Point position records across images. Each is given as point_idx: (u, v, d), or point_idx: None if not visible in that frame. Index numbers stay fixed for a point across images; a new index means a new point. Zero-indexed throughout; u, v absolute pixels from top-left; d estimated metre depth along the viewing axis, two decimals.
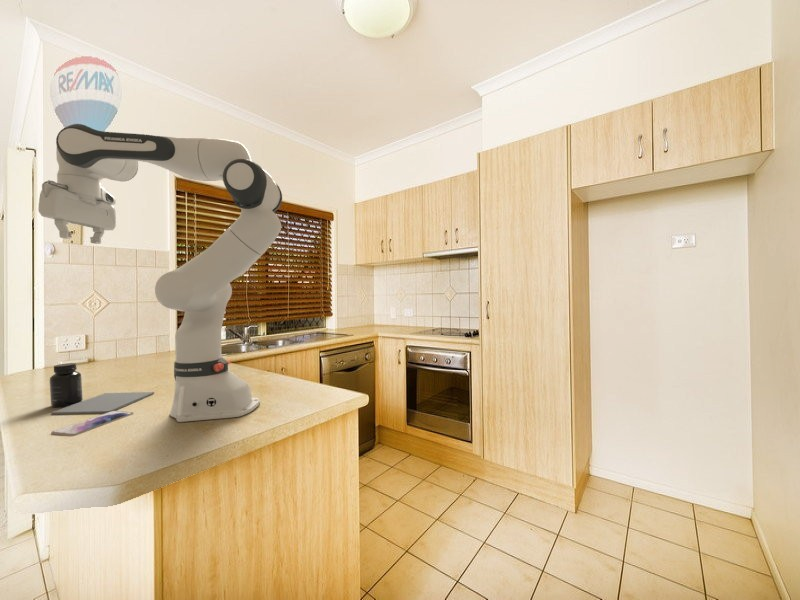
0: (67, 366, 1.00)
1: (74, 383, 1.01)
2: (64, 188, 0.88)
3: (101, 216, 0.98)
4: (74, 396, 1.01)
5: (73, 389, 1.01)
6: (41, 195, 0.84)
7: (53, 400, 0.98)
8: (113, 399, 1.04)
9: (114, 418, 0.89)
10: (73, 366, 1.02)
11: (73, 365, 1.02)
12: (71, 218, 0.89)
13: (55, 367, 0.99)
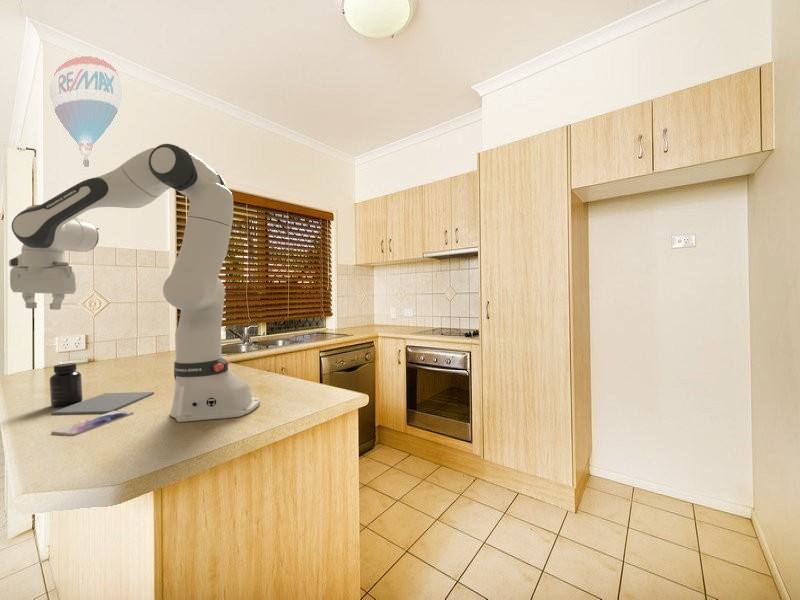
0: (67, 366, 1.00)
1: (74, 383, 1.01)
2: None
3: None
4: (74, 396, 1.01)
5: (73, 389, 1.01)
6: (64, 276, 0.96)
7: (53, 400, 0.98)
8: (113, 399, 1.04)
9: (114, 418, 0.89)
10: (73, 366, 1.02)
11: (73, 365, 1.02)
12: None
13: (55, 367, 0.99)
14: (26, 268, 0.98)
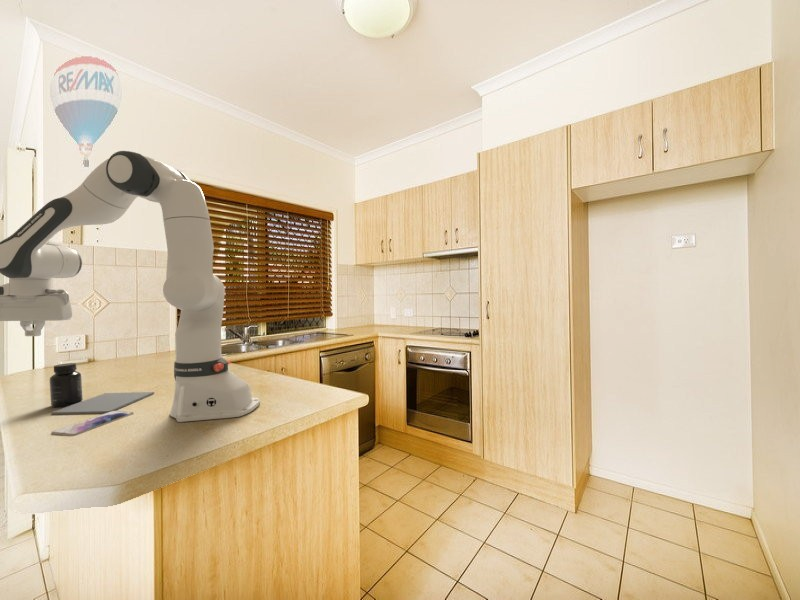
0: (67, 366, 1.00)
1: (74, 383, 1.01)
2: None
3: None
4: (74, 396, 1.01)
5: (73, 389, 1.01)
6: (62, 303, 1.00)
7: (53, 400, 0.98)
8: (113, 399, 1.04)
9: (114, 418, 0.89)
10: (73, 366, 1.02)
11: (73, 365, 1.02)
12: None
13: (55, 367, 0.99)
14: (13, 297, 0.99)
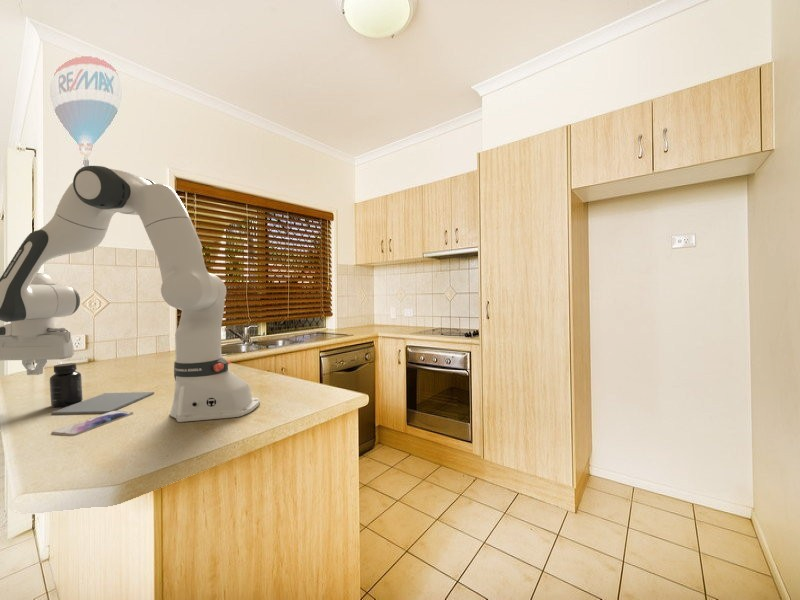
0: (67, 366, 1.00)
1: (74, 383, 1.01)
2: None
3: None
4: (74, 396, 1.01)
5: (73, 389, 1.01)
6: (63, 342, 1.00)
7: (53, 400, 0.98)
8: (113, 399, 1.04)
9: (114, 418, 0.89)
10: (73, 366, 1.02)
11: (73, 365, 1.02)
12: None
13: (55, 367, 0.99)
14: (14, 336, 0.99)
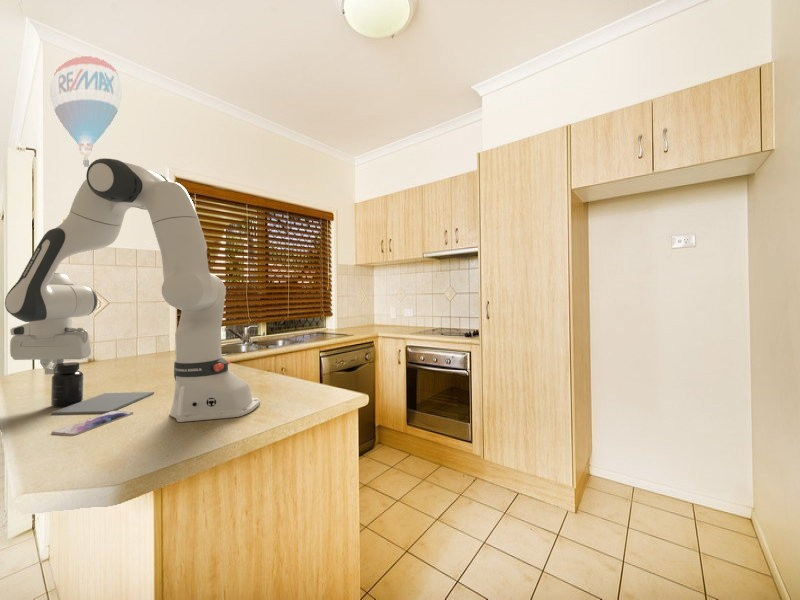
0: (70, 366, 1.00)
1: (76, 383, 1.01)
2: None
3: None
4: (75, 396, 1.01)
5: (74, 389, 1.01)
6: (81, 342, 1.01)
7: (54, 399, 0.98)
8: (113, 399, 1.04)
9: (114, 418, 0.89)
10: (76, 366, 1.02)
11: (76, 365, 1.02)
12: None
13: (58, 366, 0.99)
14: (33, 336, 0.99)
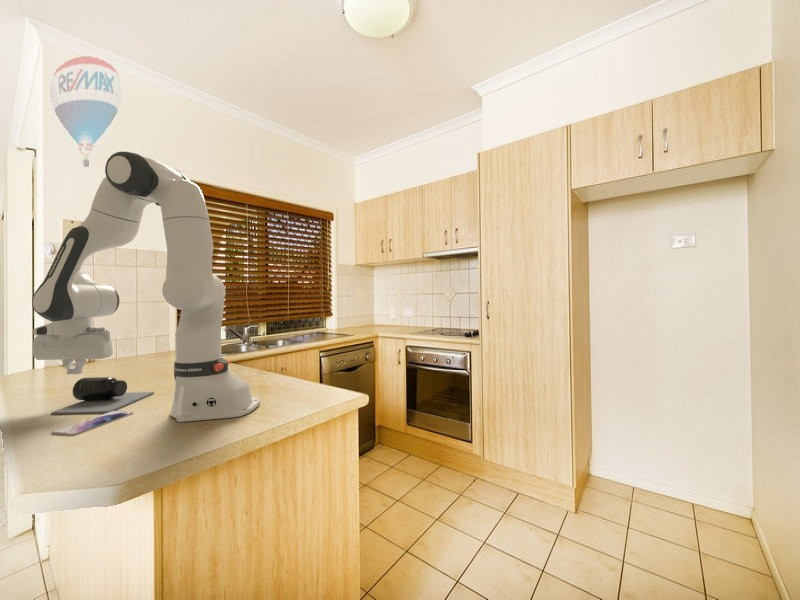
0: (114, 393, 1.02)
1: (96, 398, 1.02)
2: None
3: None
4: (82, 398, 1.01)
5: (90, 398, 1.01)
6: (103, 341, 1.01)
7: (81, 383, 1.01)
8: (113, 399, 1.04)
9: (114, 418, 0.89)
10: (116, 396, 1.03)
11: None
12: None
13: (116, 383, 1.03)
14: (55, 336, 0.99)
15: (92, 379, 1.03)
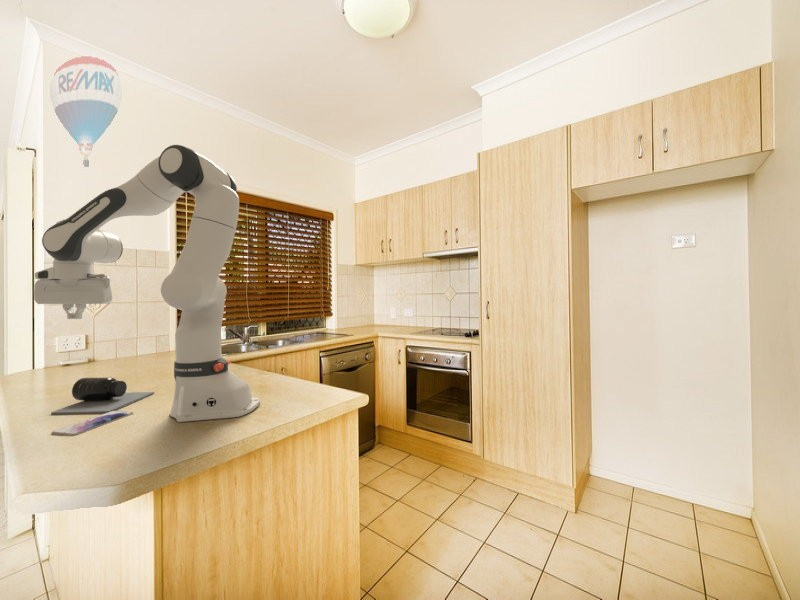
0: (114, 394, 1.02)
1: (96, 399, 1.02)
2: None
3: None
4: (82, 399, 1.01)
5: (89, 398, 1.01)
6: (103, 287, 1.03)
7: (80, 384, 1.01)
8: (113, 399, 1.04)
9: (114, 418, 0.89)
10: (116, 396, 1.03)
11: (117, 396, 1.03)
12: None
13: (115, 384, 1.02)
14: (56, 280, 1.02)
15: (91, 380, 1.02)
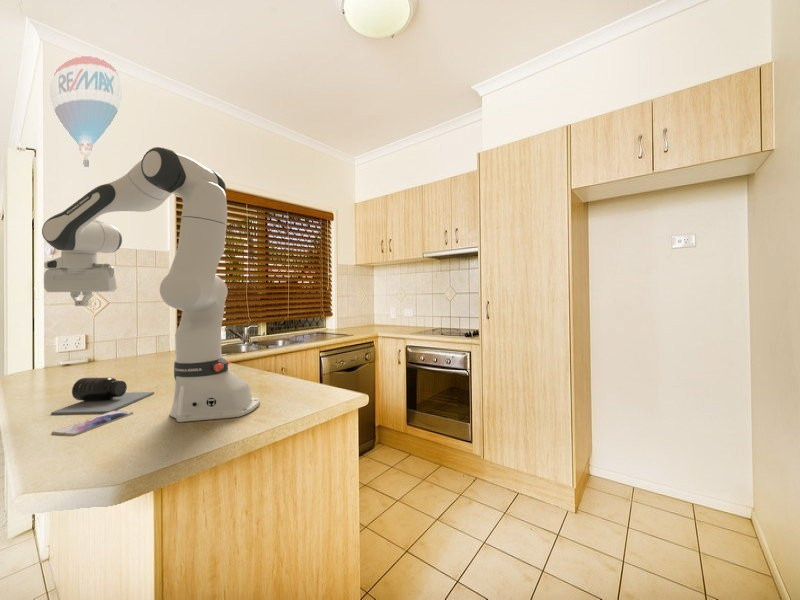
0: (114, 394, 1.02)
1: (96, 399, 1.02)
2: None
3: None
4: (82, 399, 1.01)
5: (89, 398, 1.01)
6: (108, 276, 1.10)
7: (80, 384, 1.01)
8: (113, 399, 1.04)
9: (114, 418, 0.89)
10: (116, 396, 1.03)
11: (117, 396, 1.03)
12: None
13: (115, 384, 1.02)
14: (64, 270, 1.09)
15: (91, 380, 1.02)
